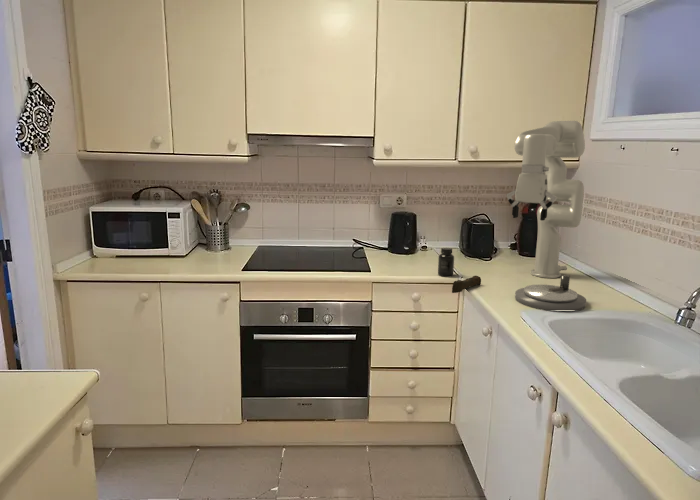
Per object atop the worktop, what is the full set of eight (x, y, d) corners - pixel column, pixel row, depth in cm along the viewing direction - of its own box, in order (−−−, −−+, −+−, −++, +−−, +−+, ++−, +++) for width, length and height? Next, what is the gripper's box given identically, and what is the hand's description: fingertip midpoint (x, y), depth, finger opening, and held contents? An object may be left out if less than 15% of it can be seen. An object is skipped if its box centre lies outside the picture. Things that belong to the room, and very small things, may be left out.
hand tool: (472, 283, 198) (473, 272, 197) (481, 285, 195) (481, 274, 194) (446, 292, 185) (446, 281, 184) (454, 294, 182) (455, 283, 181)
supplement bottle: (456, 275, 210) (458, 249, 207) (445, 277, 206) (446, 250, 204) (445, 272, 215) (446, 246, 213) (434, 274, 212) (435, 248, 209)
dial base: (555, 290, 189) (556, 284, 188) (601, 308, 166) (602, 302, 166) (502, 294, 183) (502, 288, 182) (542, 314, 160) (542, 307, 159)
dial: (551, 305, 162) (553, 286, 161) (513, 291, 178) (514, 274, 177) (588, 298, 170) (590, 281, 168) (548, 286, 186) (550, 270, 184)
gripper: (562, 170, 164) (557, 220, 167) (512, 169, 175) (509, 215, 178) (555, 171, 158) (550, 222, 161) (504, 169, 169) (501, 217, 172)
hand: (528, 218), depth 170 cm, fingers open, 9 cm apart
